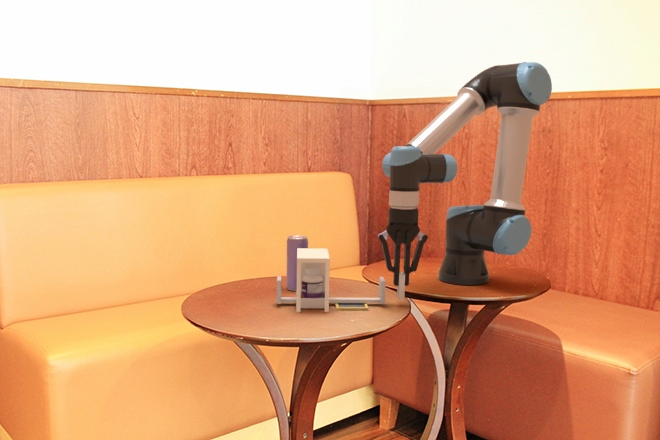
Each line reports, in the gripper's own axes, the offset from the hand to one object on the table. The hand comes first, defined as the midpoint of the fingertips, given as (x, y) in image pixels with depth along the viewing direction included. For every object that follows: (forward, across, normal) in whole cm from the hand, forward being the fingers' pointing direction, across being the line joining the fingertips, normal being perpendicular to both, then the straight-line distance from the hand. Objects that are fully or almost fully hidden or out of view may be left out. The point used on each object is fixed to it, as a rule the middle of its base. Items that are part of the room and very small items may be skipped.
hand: (400, 297), depth 166 cm
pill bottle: (+2, +23, 0) cm, 23 cm away
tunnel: (+2, +23, 0) cm, 23 cm away
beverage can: (+2, +27, -17) cm, 32 cm away
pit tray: (+2, +13, 0) cm, 13 cm away
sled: (+2, +18, 0) cm, 18 cm away
